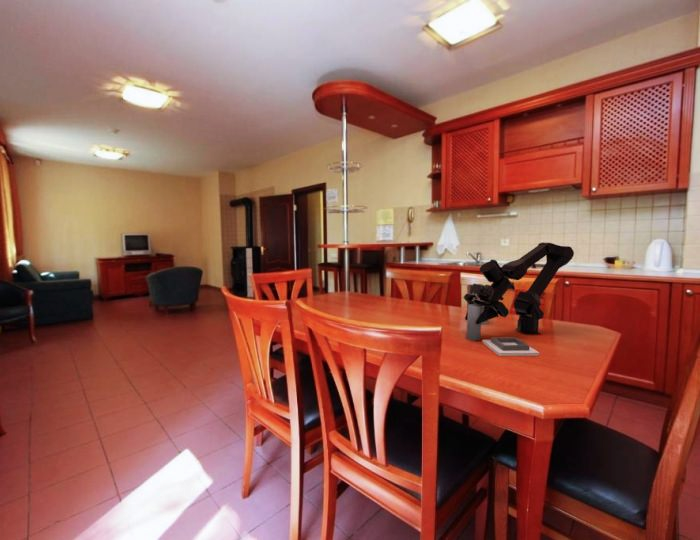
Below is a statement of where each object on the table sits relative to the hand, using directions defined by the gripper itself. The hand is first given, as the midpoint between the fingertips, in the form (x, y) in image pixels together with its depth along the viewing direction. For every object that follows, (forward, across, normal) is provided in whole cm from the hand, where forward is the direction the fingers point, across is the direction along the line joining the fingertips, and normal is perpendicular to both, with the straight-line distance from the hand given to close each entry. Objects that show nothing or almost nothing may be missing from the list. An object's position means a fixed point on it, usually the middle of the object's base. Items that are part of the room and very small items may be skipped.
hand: (470, 321), depth 122 cm
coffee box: (-9, -20, +18) cm, 28 cm away
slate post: (+4, 0, +6) cm, 7 cm away
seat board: (+1, +13, +9) cm, 16 cm away
